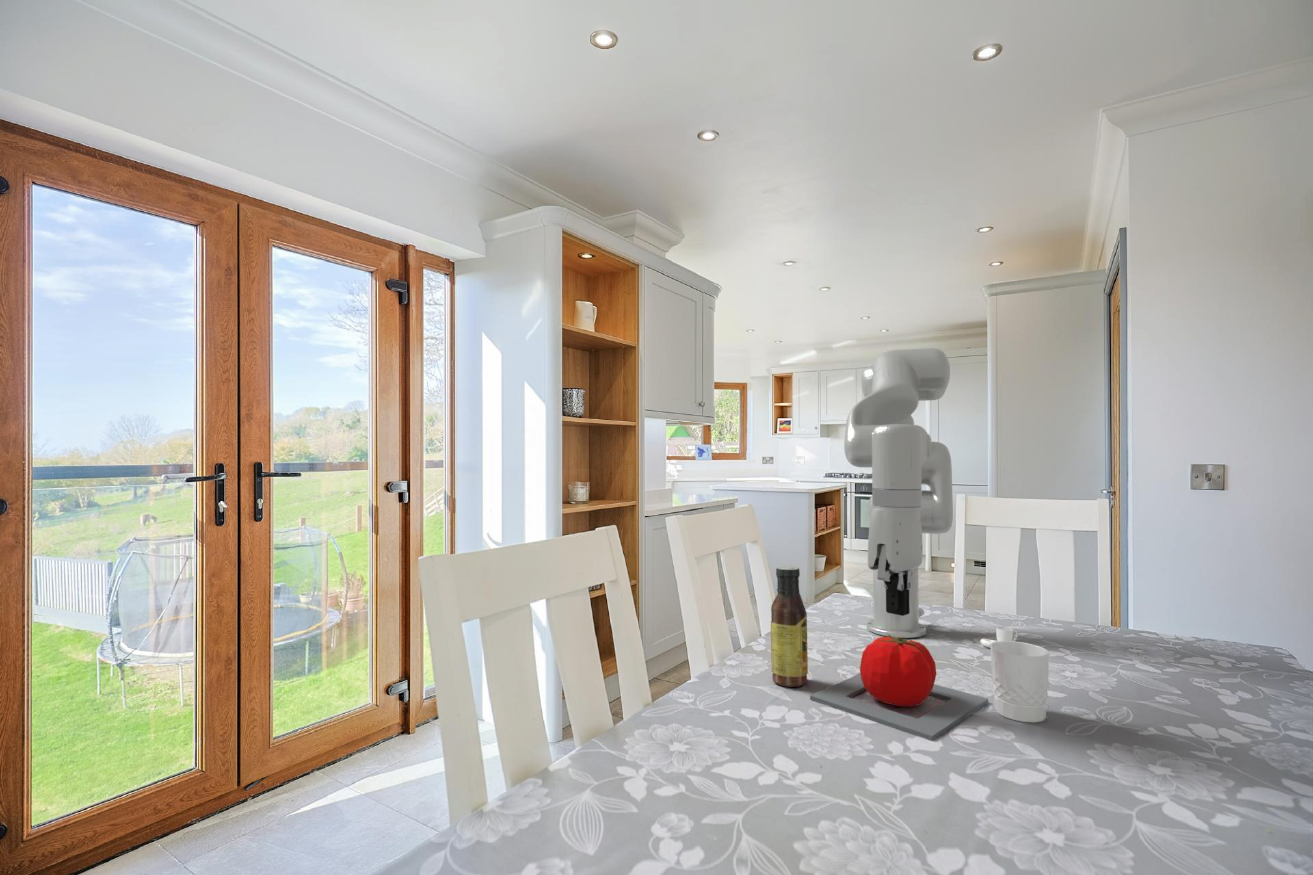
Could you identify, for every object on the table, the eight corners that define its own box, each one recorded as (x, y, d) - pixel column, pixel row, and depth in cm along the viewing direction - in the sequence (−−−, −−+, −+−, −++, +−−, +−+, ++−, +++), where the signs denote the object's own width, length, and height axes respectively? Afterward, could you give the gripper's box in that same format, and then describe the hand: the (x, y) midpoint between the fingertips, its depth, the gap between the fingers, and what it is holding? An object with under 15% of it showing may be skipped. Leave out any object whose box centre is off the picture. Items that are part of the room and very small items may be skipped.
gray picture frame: (873, 670, 117) (873, 667, 117) (988, 702, 102) (988, 698, 102) (810, 699, 104) (810, 695, 104) (932, 740, 89) (931, 736, 89)
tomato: (888, 719, 96) (887, 650, 96) (846, 692, 107) (845, 630, 107) (955, 711, 99) (954, 644, 99) (907, 685, 110) (906, 625, 110)
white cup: (1034, 704, 101) (1033, 641, 102) (1060, 726, 94) (1059, 657, 94) (982, 703, 102) (981, 640, 102) (1004, 723, 94) (1003, 655, 95)
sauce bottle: (811, 689, 108) (810, 571, 109) (774, 688, 108) (773, 571, 109) (803, 675, 115) (802, 564, 115) (768, 675, 115) (768, 564, 115)
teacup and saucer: (982, 651, 129) (982, 631, 130) (975, 640, 137) (975, 621, 137) (1031, 656, 127) (1031, 635, 127) (1021, 644, 134) (1021, 625, 135)
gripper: (897, 496, 111) (898, 602, 111) (851, 501, 101) (852, 617, 101) (940, 499, 106) (941, 610, 105) (896, 504, 96) (897, 626, 95)
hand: (897, 613), depth 103 cm, fingers closed
